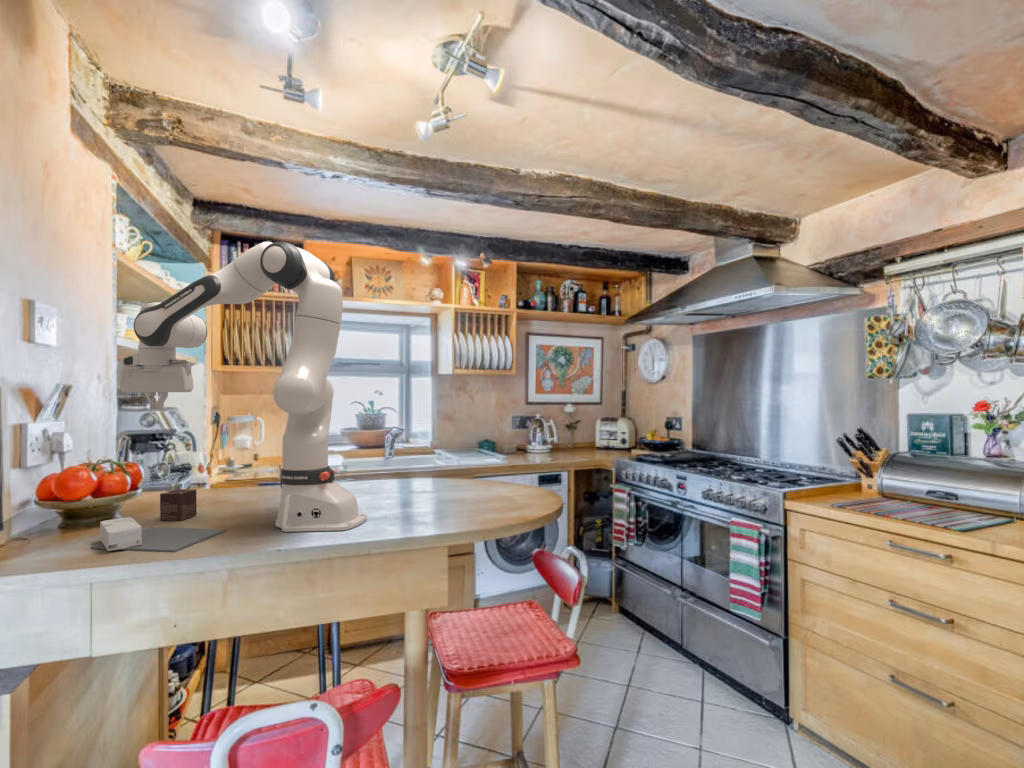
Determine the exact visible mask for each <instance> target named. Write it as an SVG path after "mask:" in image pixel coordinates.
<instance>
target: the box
mask: <svg viewBox="0 0 1024 768" xmlns="http://www.w3.org/2000/svg"><path fill="white" fill-rule="evenodd" d="M159 502H160V503H159V504H160V505H159V509H160V510H159V511H160V512H159V513H160V514H159V515H160V516H159V517H160V522H161V521H165V522H167V521H170V522H172V521H173V522H174V521H175V522H177V521H178V522H183V521H185V520H188V519H190V518H194V517H196V516H197V515H198V514H197V489H196V488H195V489H193V488H192V489H191V488H189V489H188V488H186V489H184V488H176V489H172V490H168V491H164V492H160V493H159Z"/></svg>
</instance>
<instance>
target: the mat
mask: <svg viewBox="0 0 1024 768" xmlns="http://www.w3.org/2000/svg"><path fill="white" fill-rule="evenodd" d="M226 531H227V529H224V528H222V529H220V528H219V529H218V528H197V527H196V528H195V527H193V528H192V527H167V526H166V527H165V526H163V527H162V526H150V527H147V528H144V529H143V528H142V530H141V533H142V545H139V546H134V547H129V548H125V549H118V550H117V551H138V552H140V551H141V552H162V553H163V552H164V553H176V552H178V551H181V550H184V549H186V548H189V547H191V546H194V545H196V544H198V543H200V542H202V541H205V540H208V539H210V538H213V537H215V536H217V535H219V534H223V533H224V532H226ZM90 549H91V550H107V549H106V547H105V546H104V544H103V543H102V542H100V543H98V544H95V545H92V546H90Z"/></svg>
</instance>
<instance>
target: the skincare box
mask: <svg viewBox="0 0 1024 768" xmlns="http://www.w3.org/2000/svg"><path fill="white" fill-rule="evenodd" d="M99 522H100V523H99V525H100V526H99V527H100V529H99V530H100V531H99V539H100V541H101V543H103V544H104V546H105V547H106V549H105V550H107V552H112V551H119V550H118V549H125V548H129V547H134V546H139V545H142V533H141V530H143V528H142V525H141V524H139V523H138V522H137V521H136V520H135V519H134V518H133V517H130V516H126V517H120V518H113V519H108V520H102V521H99Z"/></svg>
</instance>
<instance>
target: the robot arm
mask: <svg viewBox="0 0 1024 768" xmlns="http://www.w3.org/2000/svg"><path fill="white" fill-rule="evenodd" d="M275 285H279V286H281V287H283V288H285V289H287V290H290V291H293V292H295V293H296V295H297V297H298V306H297V310H296V316H295V321H294V326H293V333H292V337H291V343H290V346H289V350H288V353H287V356H286V358H285V361H284V363H283V366H282V368H281V372H280V375H279V378H278V380H277V381H276V383H275V384H274V387H273V391H272V395H273V401H274V403H275V404H276V406H277V407H278V408H279V409H280V410H282V411H284V412H285V413H286V414H288V415H287V420H286V426H285V430H284V433H283V435H282V447H281V448H282V451H281V452H282V455H281V456H282V457H281V460H282V464H281V465H282V468H280V473H279V474H280V477H279V478H280V480H279V481H280V483H279V484H280V489H281V492H280V500H279V507H278V513H277V516H276V519H275V524H274V525H275V527H277V528H280V529H281V532H285V533H288V532H289V533H290V532H331V531H338V532H339V531H345V530H350V529H353V528H356V527H357V526H358V527H359V526H360V525H362V524H364V523H365V522H367V520H368V516H367V513H365V512H359V507H358V505H359V504H358V500H357V498H356V496H355V495H354V494H353V493H352V492H351V491H348V490H347V489H346V488H345V487H344V486H342V485H341V484H339V482H337V481H335V475H336V474H338V472H337V471H338V469H332V468H331V467H330V466H329V433H330V427H331V425H330V424H331V419H332V408H333V401H334V400H333V399H334V388H333V385H332V383H331V382H330V380H329V379H328V376H329V371H330V368H331V365H332V362H333V360H334V358H335V355H336V353H337V348H338V342H339V336H340V330H341V329H340V328H341V324H342V316H343V307H344V305H343V303H344V300H343V290H342V287H341V286H340V285H339V284H338V283H337V282H336V276H335V272H334V271H333V269H332V268H331V267H330V265H329V264H328V263H326V262H325V261H324V260H322V259H319V258H318V257H317V256H315V255H313V254H312V253H311V252H309V251H308V250H306V249H303V248H301V247H297V246H295V245H294V244H292V243H289V242H284V241H275V242H271V241H263V242H260V243H258V244H256V245H254V246H253V247H250V248H249V249H247V250H246V251H244V252H243V253H242V254H239V256H237V257H236V258H235V259H233V260H232V261H231V262H230V263H228V264H227V265H225V266H224V267H222V268H221V269H218V270H217V271H215V272H213V273H210V274H208V275H205V276H203V277H200V278H198V279H197V280H195V281H193V282H192V283H190V284H189V285H187V286H185V287H184V288H181V290H179V291H177V292H176V293H175V294H173V295H171V296H170V297H167V299H165V300H163V301H151V302H147V303H145V304H142V306H141V307H140V309H139V310H140V311H139V313H137V315H136V317H135V318H134V321H133V330H134V331H133V332H134V334H135V336H136V337H137V339H138V340H139V343H138V346H137V352H135V353H133V354H130V355H127V356H124V357H122V358H121V359H120V365H121V366H122V368H121V369H120V373H119V389H120V390H121V392H122V393H145V397H146V400H147V401H148V403H149V409H151V410H152V409H161V410H162V409H164V408H165V402H166V400H167V398H168V397H169V393H191V392H192V391H193V390H194V380H193V379H194V377H193V373H192V364H191V362H189V361H187V360H186V359H176V356H177V354H176V353H177V352H176V351H177V350H176V348H184V349H193V348H198V347H200V346H202V345H203V343H205V341H206V340H207V337H208V326H207V325H206V322H205V321H204V320H203V319H202V318H201V317H199V316H197V315H194V314H195V313H197V312H198V311H200V310H201V309H204V308H206V307H210V306H214V305H245V304H246V305H247V304H248V303H251V302H253V301H255V300H257V299H259V298H261V297H262V296H263V295H264V294H266V293H267V292H268V291H270V289H272V288H273V287H274V286H275ZM156 396H157V397H158V399H157V400H156Z"/></svg>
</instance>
